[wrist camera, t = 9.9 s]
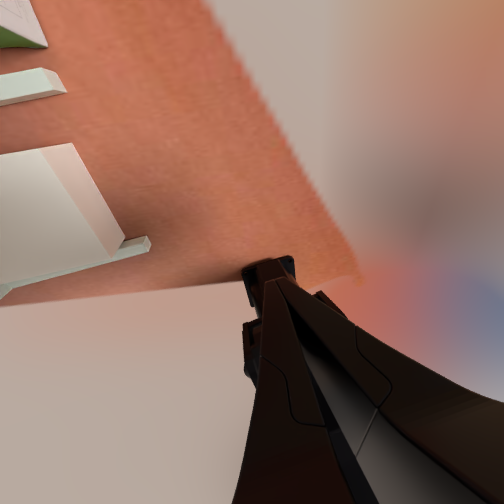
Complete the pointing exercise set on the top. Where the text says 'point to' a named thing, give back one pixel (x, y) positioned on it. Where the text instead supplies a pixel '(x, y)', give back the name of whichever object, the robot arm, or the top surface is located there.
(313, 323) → the robot arm
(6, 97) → the frame
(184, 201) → the top surface
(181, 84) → the top surface
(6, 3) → the ink box
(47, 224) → the carton
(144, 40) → the top surface
